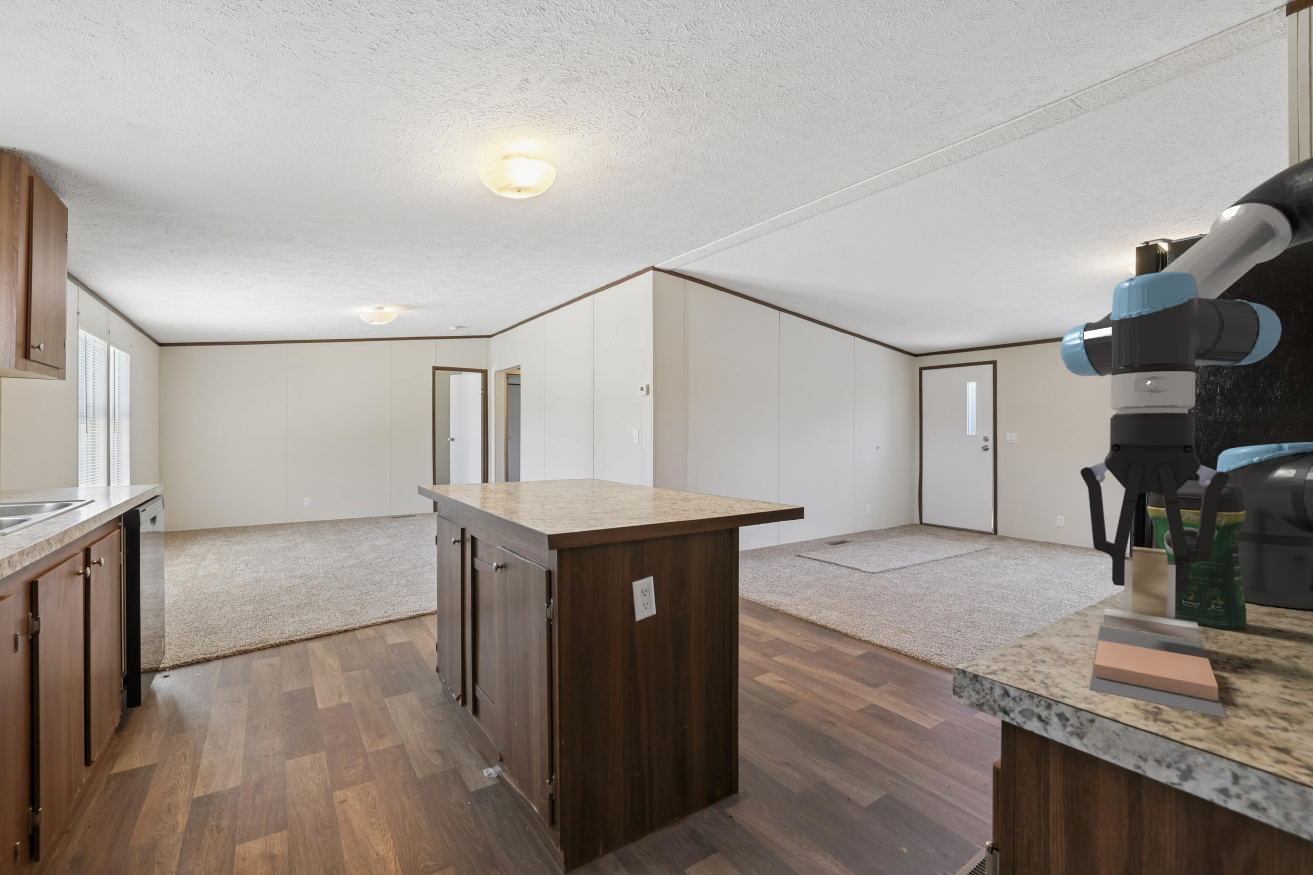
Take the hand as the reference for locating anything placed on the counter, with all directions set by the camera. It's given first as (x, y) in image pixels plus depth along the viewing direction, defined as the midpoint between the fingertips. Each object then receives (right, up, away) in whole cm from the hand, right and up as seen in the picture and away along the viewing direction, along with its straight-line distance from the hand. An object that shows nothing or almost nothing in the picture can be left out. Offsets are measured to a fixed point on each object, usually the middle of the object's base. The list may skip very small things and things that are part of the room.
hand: (1148, 616), depth 70 cm
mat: (-4, -4, -6) cm, 8 cm away
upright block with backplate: (0, -1, 0) cm, 1 cm away
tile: (-4, -2, -5) cm, 7 cm away
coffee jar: (+14, -4, +10) cm, 18 cm away
